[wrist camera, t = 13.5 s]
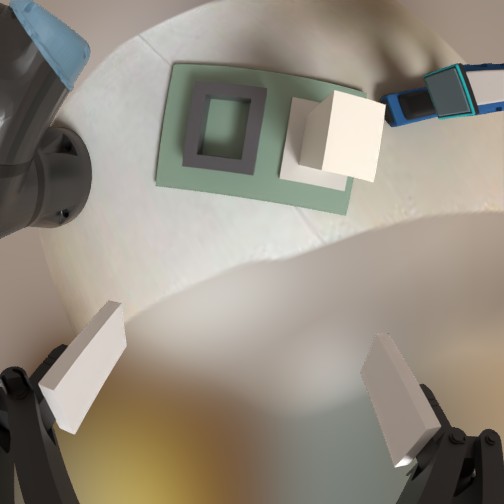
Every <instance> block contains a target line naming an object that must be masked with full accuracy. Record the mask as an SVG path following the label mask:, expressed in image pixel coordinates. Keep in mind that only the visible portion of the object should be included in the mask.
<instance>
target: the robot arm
mask: <svg viewBox="0 0 504 504" xmlns="http://www.w3.org/2000/svg"><path fill="white" fill-rule="evenodd" d="M9 4H10V5H9V6H6V5H4V4H1V3H0V239H1V238H3V237H5V236H7V235H9V234H11V233H14V232H16V231H18V230H20V229H22V228H25V227H27V226H30V227H41V228H55V227H59V226H61V225H64V224H66V223H68V222H70V221H72V220H73V219H75V218H76V217H77V216H78V215H79V213H80V212H81V211H82V209H83V208H84V206H85V204H86V202H87V199H88V196H89V192H90V188H91V180H92V170H91V162H90V157H89V154H88V151H87V148H86V146H85V144H84V143H83V141H82V140H81V138H80V137H79V136H78V135H77V134H76V133H74V132H73V131H71V130H69V129H66V128H60V127H49V126H50V124H51V122H52V120H53V119H54V117H55V115H56V113H57V112H58V110H59V108H60V107H61V105H62V103H63V101H64V100H65V98H66V97H67V95H68V93H69V92H70V91H72V90H73V85H74V83H75V81H76V80H77V78H78V76H79V75H80V73H81V71H82V70H83V68H84V66H85V65H86V64H87V62H88V60H89V57H90V47H89V45H88V43H87V42H86V41H85V40H84V39H83V38H82V37H81V36H80V35H78V34H77V33H76V32H75V31H74V30H72V29H71V28H70V27H69V26H67V25H66V24H65V23H63V22H62V21H61V20H59V19H58V18H57V17H55V16H54V15H53V14H51V13H50V12H49V11H47V10H46V9H44V8H43V7H41V6H39V5H38V4H37V3H35V2H34V1H32V0H11V1H10V3H9ZM126 346H127V345H126V338H125V330H124V322H123V313H122V303H118V302H113V301H108V302H107V303H106V304H105V305H104V306H103V307H102V308H101V310H100V311H99V312H98V313H97V314H96V315H95V316H94V317H93V319H92V320H91V321H90V322H89V323H88V324H87V325H86V326H85V328H84V329H83V330H82V331H81V332H80V333H79V335H78V336H77V337H76V338H75V339H74V340H73V342H72V343H71V344H70V345H69V346H67V345H64V344H62V345H60V346H58V347H57V348H55V349H54V350H53V351H52V352H51V353H50V354H49V355H48V358H46V359H45V360H44V361H43V363H42V364H41V365H40V366H39V367H38V368H37V369H36V371H35V372H34V373H33V374H32V375H31V377H30V378H28V376H27V374H26V372H25V371H24V370H23V369H22V368H20V367H9V368H7V369H5V370H4V371H3V372H2V373H1V374H0V383H1V385H2V387H0V504H15V502H14V462H15V467H16V471H17V476H18V480H19V484H20V488H21V492H22V495H23V499H24V502H25V504H80V503H79V501H78V499H77V496H76V494H75V492H74V489H73V486H72V484H71V481H70V478H69V476H68V473H67V470H66V467H65V464H64V461H63V458H62V455H61V452H60V448H59V445H58V441H57V438H56V434H55V430H54V428H53V424H54V422H55V421H57V423H58V425H59V427H60V428H61V429H63V430H65V431H68V432H70V433H73V434H75V433H76V431H77V429H78V428H79V426H80V424H81V422H82V420H83V419H84V417H85V415H86V413H87V411H88V410H89V408H90V406H91V404H92V403H93V401H94V399H95V397H96V396H97V394H98V392H99V391H100V389H101V387H102V385H103V384H104V382H105V380H106V379H107V377H108V375H109V374H110V372H111V370H112V369H113V367H114V365H115V364H116V362H117V360H118V359H119V357H120V355H121V354H122V352H123V351H124V349H125V347H126ZM360 373H361V375H362V378H363V380H364V383H365V386H366V388H367V391H368V394H369V396H370V399H371V401H372V404H373V407H374V410H375V412H376V415H377V418H378V421H379V424H380V426H381V429H382V432H383V435H384V438H385V441H386V443H387V446H388V449H389V452H390V455H391V458H392V461H393V464H394V467H398V466H403V465H407V464H410V462H411V461H412V460H413V459H414V458H415V457H416V459H417V461H418V463H417V464H416V465H415V466H414V467H413V468H412V469H411V470H410V471H409V472H408V473H407V474H406V475H407V476H408V475H409V474H410V473H411V475H410V477H409V479H408V481H407V483H406V485H405V487H404V489H403V491H402V493H401V495H400V497H399V499H398V501H397V503H396V504H504V461H503V452H502V444H501V439H500V436H499V435H498V433H497V432H495V431H494V430H491V429H486V430H484V431H482V433H481V434H480V435H479V436H478V437H474V436H473V437H472V436H466V434H465V433H464V432H463V431H462V430H461V429H459V428H455V427H451V425H450V423H449V421H448V420H447V418H446V416H445V414H444V412H443V410H442V409H441V407H440V406H439V403H438V402H437V400H435V397H434V395H433V393H432V391H431V390H430V389H429V388H428V387H427V386H426V385H424V384H420V385H419V384H418V382H417V380H416V379H415V377H414V375H413V373H412V372H411V370H410V368H409V367H408V365H407V363H406V361H405V360H404V359H403V357H402V355H401V353H400V351H399V350H398V348H397V346H396V345H395V343H394V342H393V340H392V338H391V337H390V335H389V334H388V333H376V335H375V338H374V340H373V343H372V345H371V348H370V350H369V353H368V355H367V358H366V360H365V362H364V365H363V367H362V369H361V372H360Z"/></svg>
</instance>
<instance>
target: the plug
mask: <svg viewBox="0 0 504 504" xmlns="http://www.w3.org/2000/svg"><path fill="white" fill-rule="evenodd" d="M385 107H386V105H384V104H381V103H378V102H375V101H372V100H368V99H365V98H362V97H358V96H355V95H351V94H348V93H344V92H340V91H336V90H334V91H333V92H332V93H331V94H330V95H328V96H327V97H326V98H325V99H324V100H323V101H322V102H321V103H320V104H319V105H318V106H317V107H316V108H315V109H313V110H312V111H311V112H310V113H309V114H308V115H307V117H306V123H305V129H304V135H303V141H302V147H301V153H300V159H299V165H301V166H306V167H310V168H314V169H319V170H323V171H328V172H332V173H337V174H341V175H346V176H350V177H354V178H359V179H363V180H367V181H371V182H374V177H375V172H376V167H377V161H378V155H379V149H380V143H381V136H382V130H383V122H384V115H385Z"/></svg>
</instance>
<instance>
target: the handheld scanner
mask: <svg viewBox="0 0 504 504" xmlns="http://www.w3.org/2000/svg"><path fill="white" fill-rule="evenodd" d="M423 78H424V80H425V83H426V85H427V87H424V88H419V89H413V90H408V91H403V92H398V93H394V94H389V95H386V96H383V97H382V98H381V102H380V103H381V104H384V105H386V107H385V115H384V117H385V120H386V121H387V123H388V124H389V123H390V126H391V127H397V126H401V125H405V124H409V123H413V122H417V121H421V120H425V119H430V118H434V117H438V119H447V118H455V117H463V116H474V115H481V114H486V113H491V112H497V111H504V64H492V63H491V64H490V63H489V64H481V65H469V64H467V65H463V64H461V63H460V64H454V65H451V66H448V67H445V68H442V69H440V70H437V71H434V72H432V73H429V74H426V75H424V76H423Z"/></svg>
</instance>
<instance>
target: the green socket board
mask: <svg viewBox="0 0 504 504" xmlns="http://www.w3.org/2000/svg"><path fill="white" fill-rule="evenodd" d="M334 90H336V91H340V92H344V93H348V94H351V95H355V96H358V97H362V98H365V99H366V95H367V93H364V92H361V91H358V90H354V89H351V88H347V87H343V86H339V85H335V84H331V83H327V82H323V81H319V80H314V79H309V78H304V77H299V76H294V75H289V74H283V73H277V72H270V71H263V70H256V69H247V68H238V67H227V66H214V65H192V64H174V67H173V72H172V77H171V82H170V87H169V93H168V98H167V104H166V110H165V116H164V122H163V129H162V136H161V143H160V151H159V159H158V168H157V177H156V186H160V187H169V188H177V189H185V190H193V191H201V192H208V193H215V194H222V195H229V196H236V197H243V198H249V199H256V200H262V201H268V202H274V203H280V204H286V205H292V206H297V207H303V208H308V209H314V210H319V211H324V212H329V213H335V214H340V215H345V216H346V213H347V208H348V204H349V199H350V194H351V189H352V184H353V179H354V177H350V176H346V175H341V174H337V173H332V172H328V171H323V170H319V169H314V168H310V167H306V166H301V165H299V159H300V153H301V147H302V141H303V135H304V129H305V123H306V117H307V115H308V114H309V113H310V112H311V111H312V110H313V109H315V108H316V107H317V106H318V105H319V104H320V103H321V102H322V101H323V100H324V99H325V98H326V97H327V96H328V95H330V94H331V93H332V92H333V91H334Z"/></svg>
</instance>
